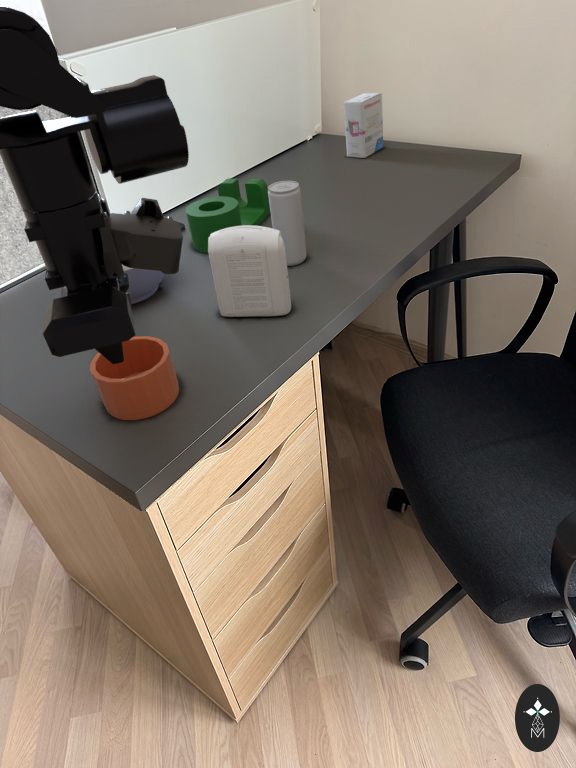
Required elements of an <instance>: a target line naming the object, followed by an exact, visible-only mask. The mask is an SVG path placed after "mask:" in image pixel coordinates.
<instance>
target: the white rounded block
mask: <svg viewBox="0 0 576 768" xmlns="http://www.w3.org/2000/svg"><path fill="white" fill-rule="evenodd" d="M207 254H208V258H209V263H210V267H211V273H212V279H213V283H214V288H215V293H216V298H217V304H218V309H219V313H220V315H221V316H222V317H230V318H231V317H232V318H233V317H237V318H238V317H239V318H240V317H279V316H285V315H286V316H287V314H289V313H290V312H291V310H292V301H291V291H290V279H289V272H288V266H287V261H286V252H285V245H284V241H283V239H282V235H281V232H280V231H279V230H276V229H273V227H268V226H264V225H263V226H261V225H259V226H252V225H244V226H234V227H229V228H225V229H222V230H219V231H216V232H214V233H212V234H211V235H210V237H209V238H208V253H207Z"/></svg>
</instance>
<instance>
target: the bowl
mask: <svg viewBox="0 0 576 768" xmlns="http://www.w3.org/2000/svg"><path fill="white" fill-rule="evenodd" d="M120 214H125V212H122V213H120ZM130 214H131V212H130ZM122 266H123V270H124V273H127V274H128V279H129V288H128V290H127V292H126V293H130V296H131V304H132V305H133V304H137V303H140V302H142V301H145V300H147V299H149V298H151V297H152V296H153V295H154V294H155V293H156V292H157V291H158V290H159V287H160V286H159V285H160V284H161V282H162V280H163V279H164V278H165V276H166V274H164V273H162V272H161V271H155V270H145V269H135V268H129V267H126V266H124V265H122Z"/></svg>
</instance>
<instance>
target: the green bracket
mask: <svg viewBox="0 0 576 768" xmlns="http://www.w3.org/2000/svg"><path fill="white" fill-rule="evenodd" d="M244 188H245V194H246V200H247V201H246V200H244V199H243V198H242V196H241V195H242V194H241V189H240V182H239V178H229V177H228V178H225V179H224V180H223V181H222V182H221V183H219V184H218V185H217V193H218V196H210V197H205V198H202V199H199V200H196V201H194V202H192V203H190V204H188V206H186V208H185V215H186V220H187V225H188V228H189V232H190V235H191V236H190V237H191V241H192V246H193V249H194V250H196V251H197V252H200V253H203V254H209V253H208V238H209V237H210V235H211V234H212V233H214V232H216V231H219V230H222V229H225V228H229V227H234V226H244V225H252V226H261V224H262V222H264V220H265V219H267V218H268V216H269V215H271V211H270V204H269V196H268V191H269V189H268V183H267V182H266V181H265V180H264V179H262V178H249V179H248V180H247V181H246V182H245V183H244Z"/></svg>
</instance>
